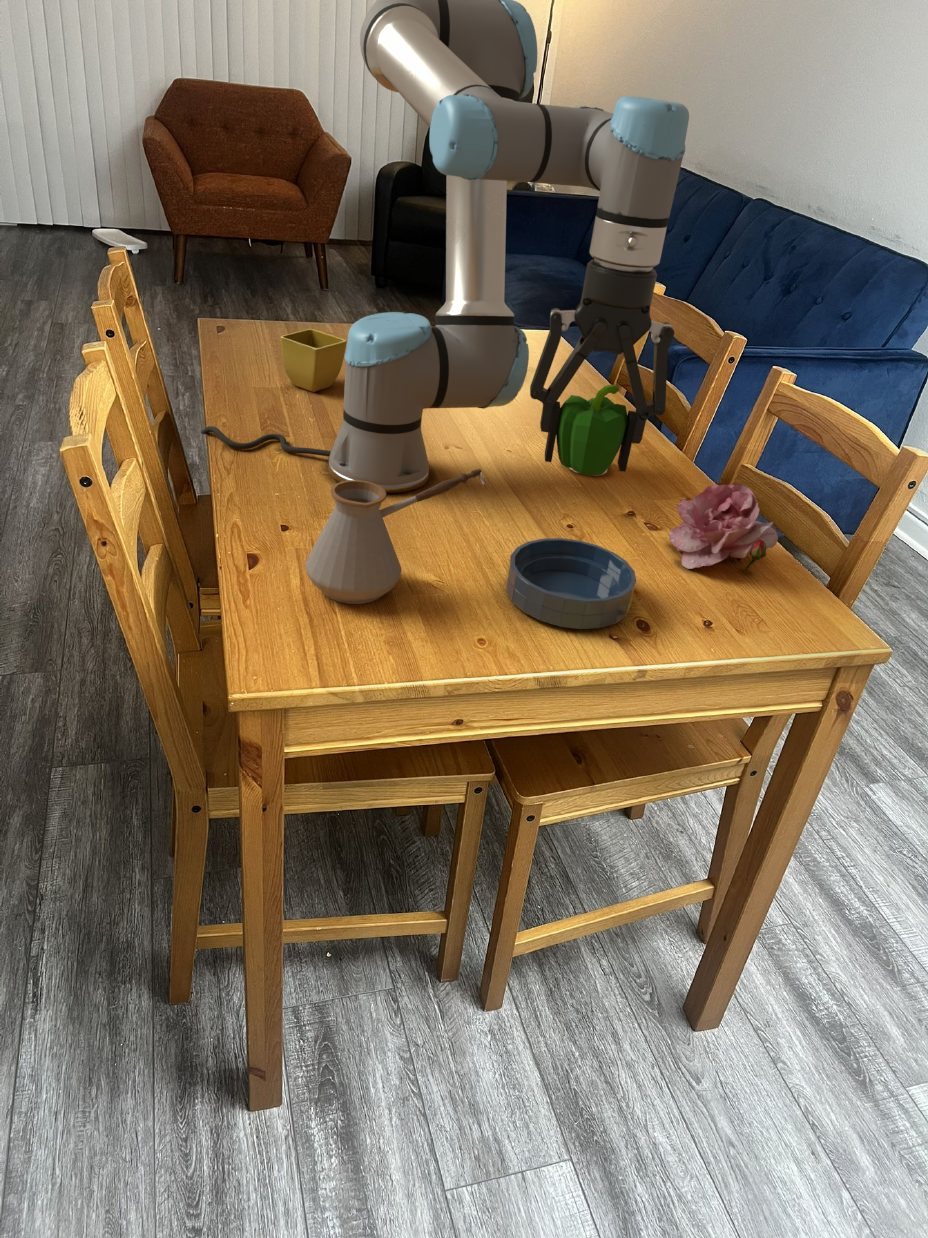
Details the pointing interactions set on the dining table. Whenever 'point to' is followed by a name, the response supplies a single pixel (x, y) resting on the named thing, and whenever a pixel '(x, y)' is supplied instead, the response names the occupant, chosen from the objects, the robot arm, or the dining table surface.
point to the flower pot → (312, 358)
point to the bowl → (570, 583)
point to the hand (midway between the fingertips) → (584, 462)
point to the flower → (721, 527)
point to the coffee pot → (362, 541)
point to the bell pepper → (591, 432)
